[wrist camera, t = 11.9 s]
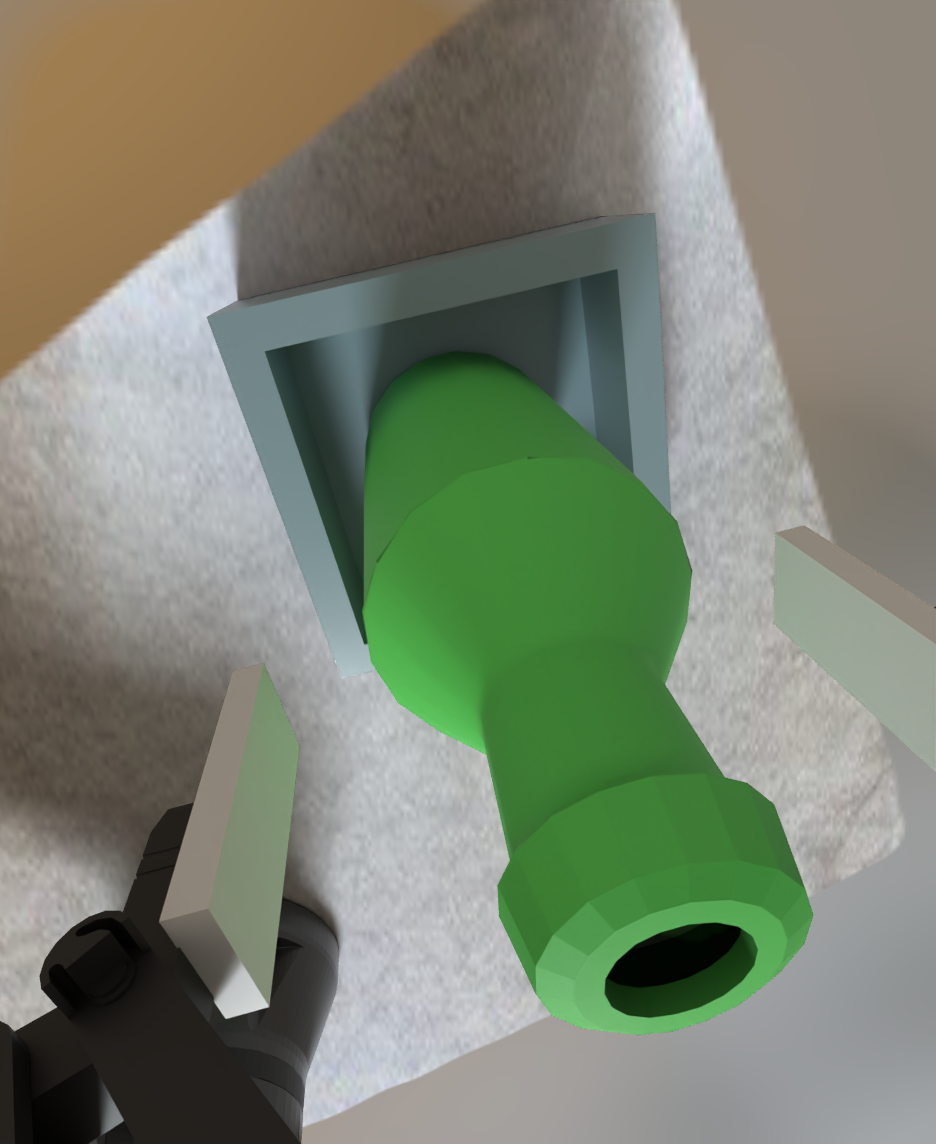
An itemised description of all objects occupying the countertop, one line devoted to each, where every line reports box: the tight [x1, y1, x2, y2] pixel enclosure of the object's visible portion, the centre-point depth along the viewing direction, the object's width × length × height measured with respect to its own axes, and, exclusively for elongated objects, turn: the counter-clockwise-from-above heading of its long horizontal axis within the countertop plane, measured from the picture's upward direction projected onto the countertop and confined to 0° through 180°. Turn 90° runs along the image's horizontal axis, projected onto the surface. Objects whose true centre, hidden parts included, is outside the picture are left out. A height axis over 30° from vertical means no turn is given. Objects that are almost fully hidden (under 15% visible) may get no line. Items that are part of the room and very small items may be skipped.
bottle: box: [362, 351, 813, 1035], centre depth 20 cm, size 9×9×25 cm
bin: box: [207, 213, 671, 679], centre depth 29 cm, size 16×16×6 cm
